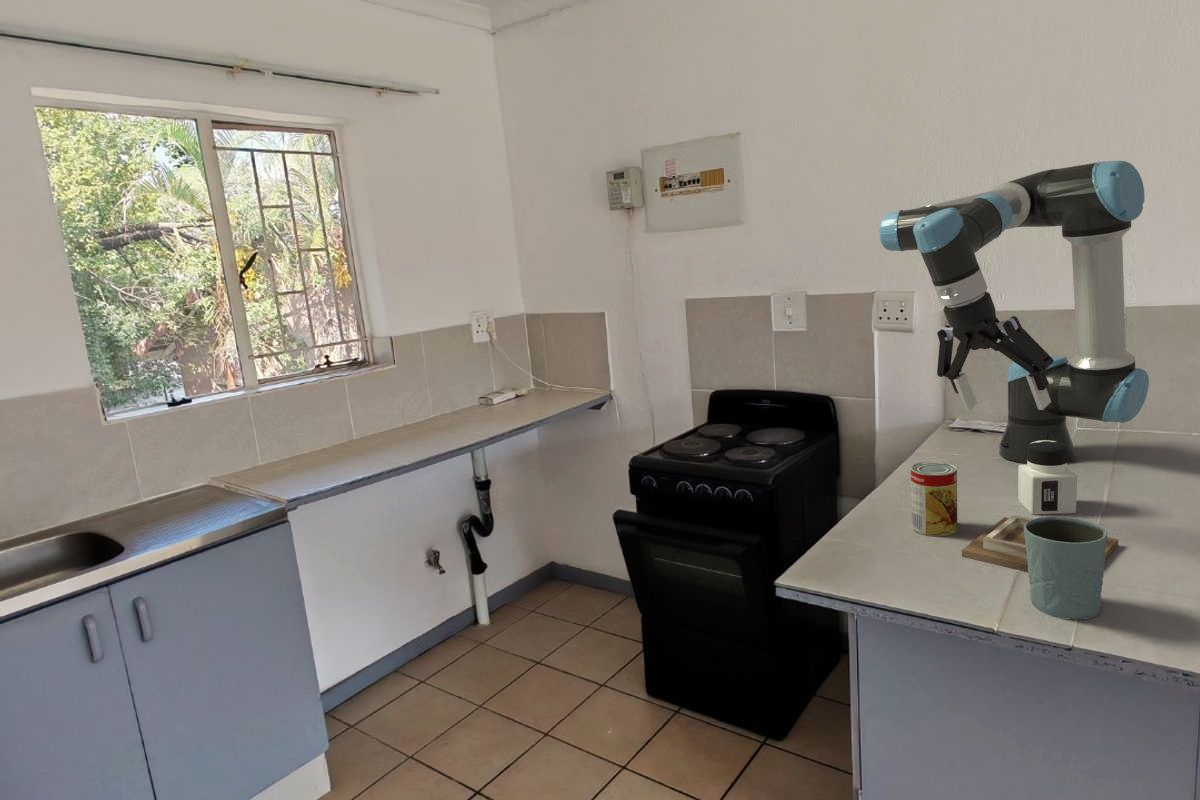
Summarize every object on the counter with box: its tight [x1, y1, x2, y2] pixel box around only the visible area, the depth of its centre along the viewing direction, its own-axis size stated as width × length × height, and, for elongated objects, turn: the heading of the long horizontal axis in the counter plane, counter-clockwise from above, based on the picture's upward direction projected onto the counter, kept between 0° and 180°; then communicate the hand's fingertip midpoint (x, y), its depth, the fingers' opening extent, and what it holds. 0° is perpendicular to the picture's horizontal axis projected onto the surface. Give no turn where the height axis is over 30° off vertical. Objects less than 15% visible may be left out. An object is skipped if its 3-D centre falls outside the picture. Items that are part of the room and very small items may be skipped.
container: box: [1017, 440, 1078, 515], centre depth 141 cm, size 8×8×13 cm
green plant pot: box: [1024, 516, 1108, 620], centre depth 107 cm, size 10×10×12 cm
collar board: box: [961, 514, 1119, 573], centre depth 125 cm, size 18×18×3 cm
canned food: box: [910, 461, 958, 537], centre depth 138 cm, size 8×8×12 cm
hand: (1006, 406), depth 130 cm, fingers open, 13 cm apart
